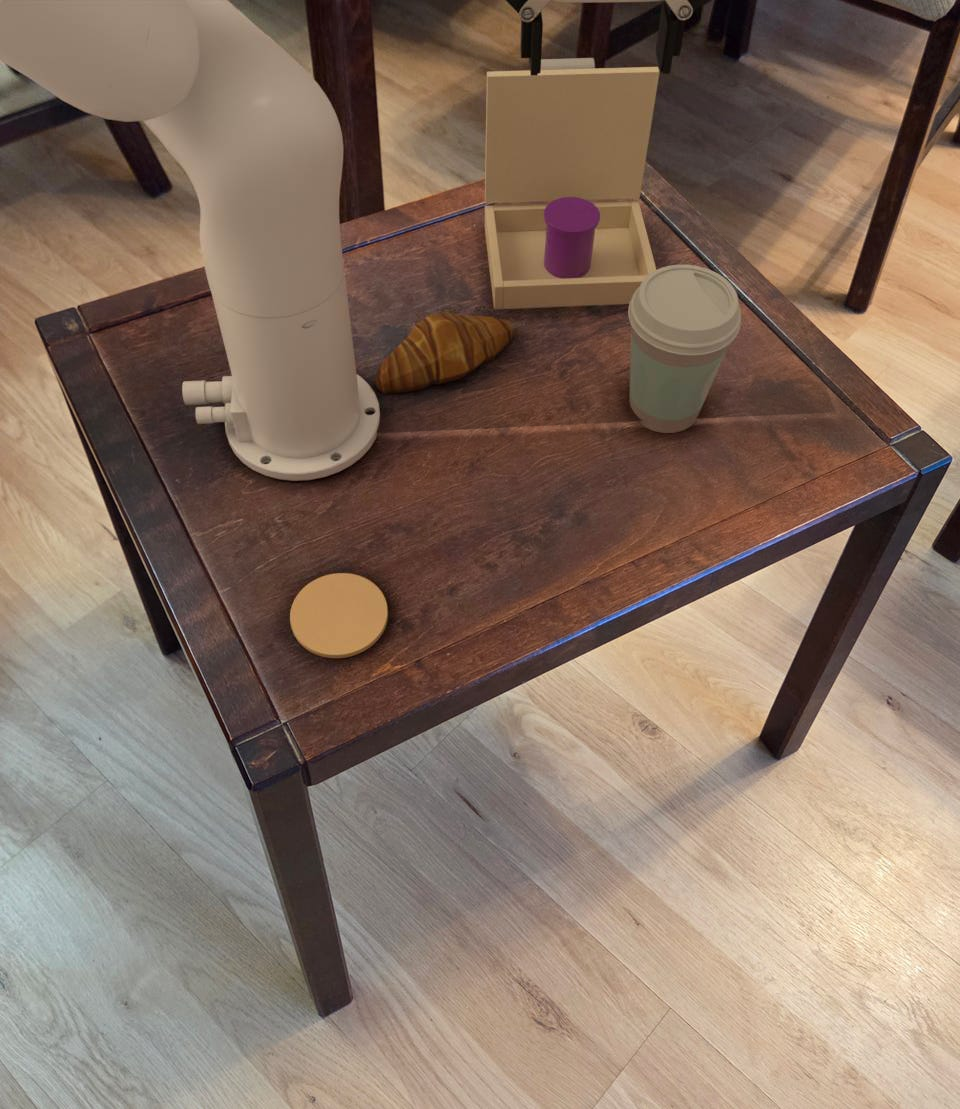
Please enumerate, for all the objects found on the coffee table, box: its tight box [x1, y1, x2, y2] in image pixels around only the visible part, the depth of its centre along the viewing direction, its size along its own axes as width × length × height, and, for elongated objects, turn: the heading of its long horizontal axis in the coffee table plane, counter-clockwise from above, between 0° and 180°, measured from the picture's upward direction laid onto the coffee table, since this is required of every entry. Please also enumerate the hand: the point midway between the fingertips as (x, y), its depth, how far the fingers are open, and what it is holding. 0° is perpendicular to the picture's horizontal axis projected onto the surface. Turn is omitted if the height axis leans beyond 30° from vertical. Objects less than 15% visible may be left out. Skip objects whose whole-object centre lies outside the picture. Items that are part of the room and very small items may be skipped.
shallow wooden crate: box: [484, 199, 657, 310], centre depth 97 cm, size 12×15×3 cm
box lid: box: [484, 57, 660, 205], centre depth 95 cm, size 12×15×6 cm
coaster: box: [289, 572, 389, 659], centre depth 76 cm, size 7×7×1 cm
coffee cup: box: [627, 264, 742, 434], centre depth 84 cm, size 9×8×12 cm
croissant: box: [373, 311, 516, 395], centre depth 89 cm, size 14×7×5 cm, turn 122°
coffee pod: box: [544, 197, 600, 279], centre depth 96 cm, size 5×5×6 cm
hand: (598, 64), depth 79 cm, fingers open, 9 cm apart
